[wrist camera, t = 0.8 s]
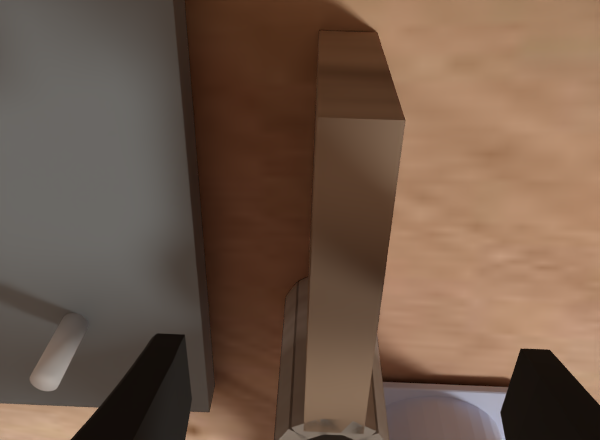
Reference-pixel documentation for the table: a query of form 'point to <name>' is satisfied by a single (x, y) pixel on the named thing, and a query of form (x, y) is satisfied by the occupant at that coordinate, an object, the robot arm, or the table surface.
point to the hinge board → (97, 198)
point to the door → (343, 250)
